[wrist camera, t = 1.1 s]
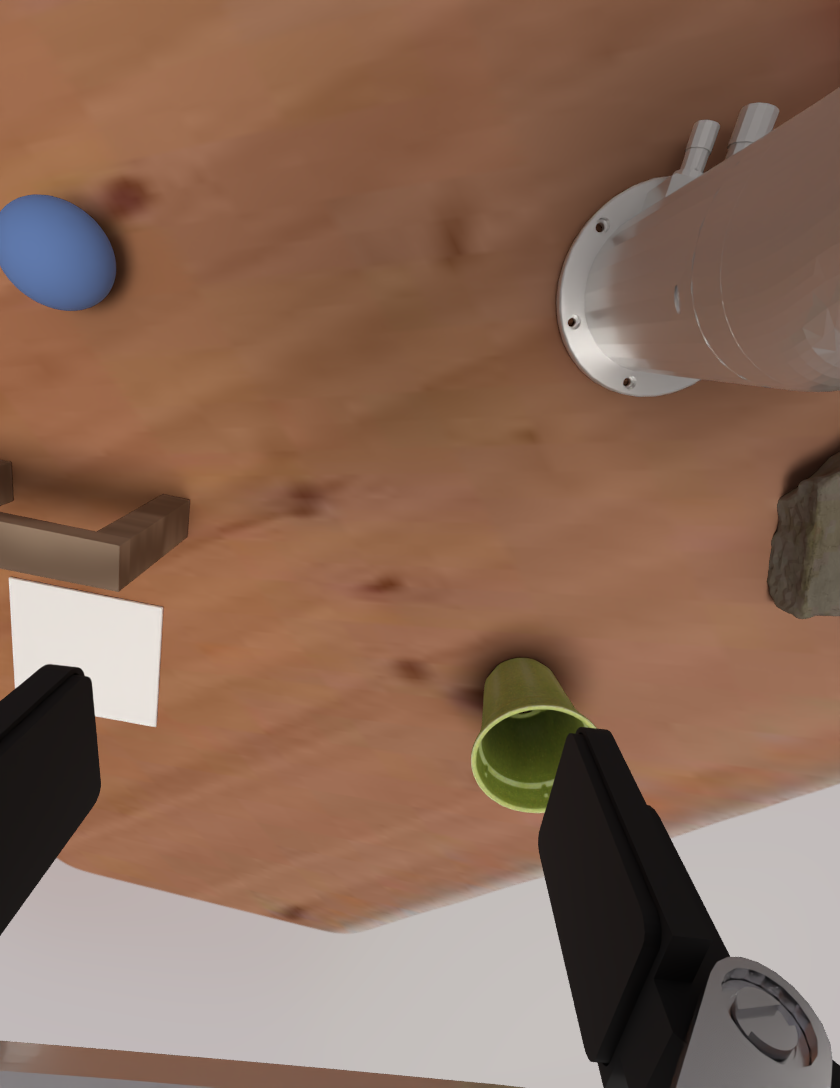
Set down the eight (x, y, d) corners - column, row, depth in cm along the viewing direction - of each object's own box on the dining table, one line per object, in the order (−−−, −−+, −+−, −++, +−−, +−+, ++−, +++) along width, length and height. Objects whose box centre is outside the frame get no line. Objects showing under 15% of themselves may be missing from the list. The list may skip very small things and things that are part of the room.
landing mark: (10, 576, 42) (8, 577, 42) (163, 607, 43) (162, 608, 43) (17, 700, 46) (15, 701, 46) (156, 725, 47) (155, 727, 47)
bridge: (-18, 456, 39) (-154, 490, 30) (190, 499, 40) (119, 545, 31) (-15, 495, 40) (-146, 539, 31) (187, 536, 41) (118, 591, 32)
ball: (39, 198, 33) (-41, 167, 27) (136, 221, 33) (77, 196, 28) (41, 301, 35) (-33, 293, 29) (133, 323, 35) (78, 318, 30)
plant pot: (476, 741, 47) (486, 823, 39) (452, 652, 44) (458, 721, 36) (581, 720, 46) (615, 800, 38) (564, 628, 43) (597, 693, 35)
